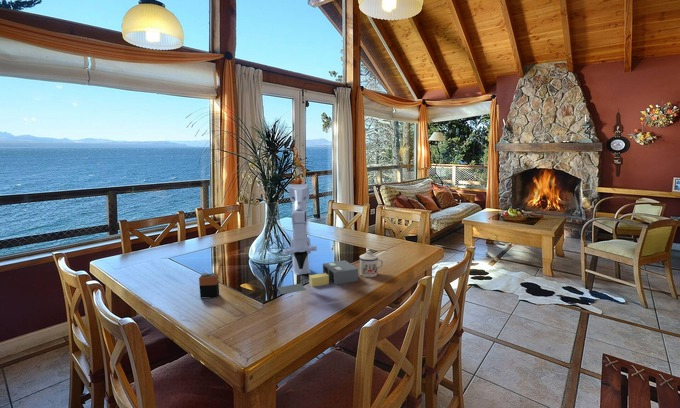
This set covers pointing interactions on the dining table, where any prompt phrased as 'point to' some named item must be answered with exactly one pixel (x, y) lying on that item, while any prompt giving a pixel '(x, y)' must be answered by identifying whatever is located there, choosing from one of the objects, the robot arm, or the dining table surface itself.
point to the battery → (209, 285)
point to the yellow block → (318, 279)
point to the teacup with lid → (369, 264)
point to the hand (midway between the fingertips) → (300, 268)
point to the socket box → (341, 272)
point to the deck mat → (291, 288)
